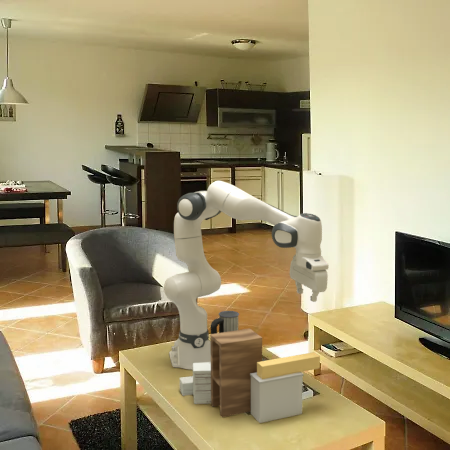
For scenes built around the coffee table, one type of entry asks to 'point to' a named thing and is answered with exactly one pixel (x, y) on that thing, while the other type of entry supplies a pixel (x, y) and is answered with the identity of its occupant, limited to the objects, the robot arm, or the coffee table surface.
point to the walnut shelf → (233, 369)
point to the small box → (186, 385)
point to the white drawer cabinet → (202, 383)
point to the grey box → (276, 396)
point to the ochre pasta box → (288, 365)
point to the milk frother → (225, 322)
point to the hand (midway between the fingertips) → (306, 297)
